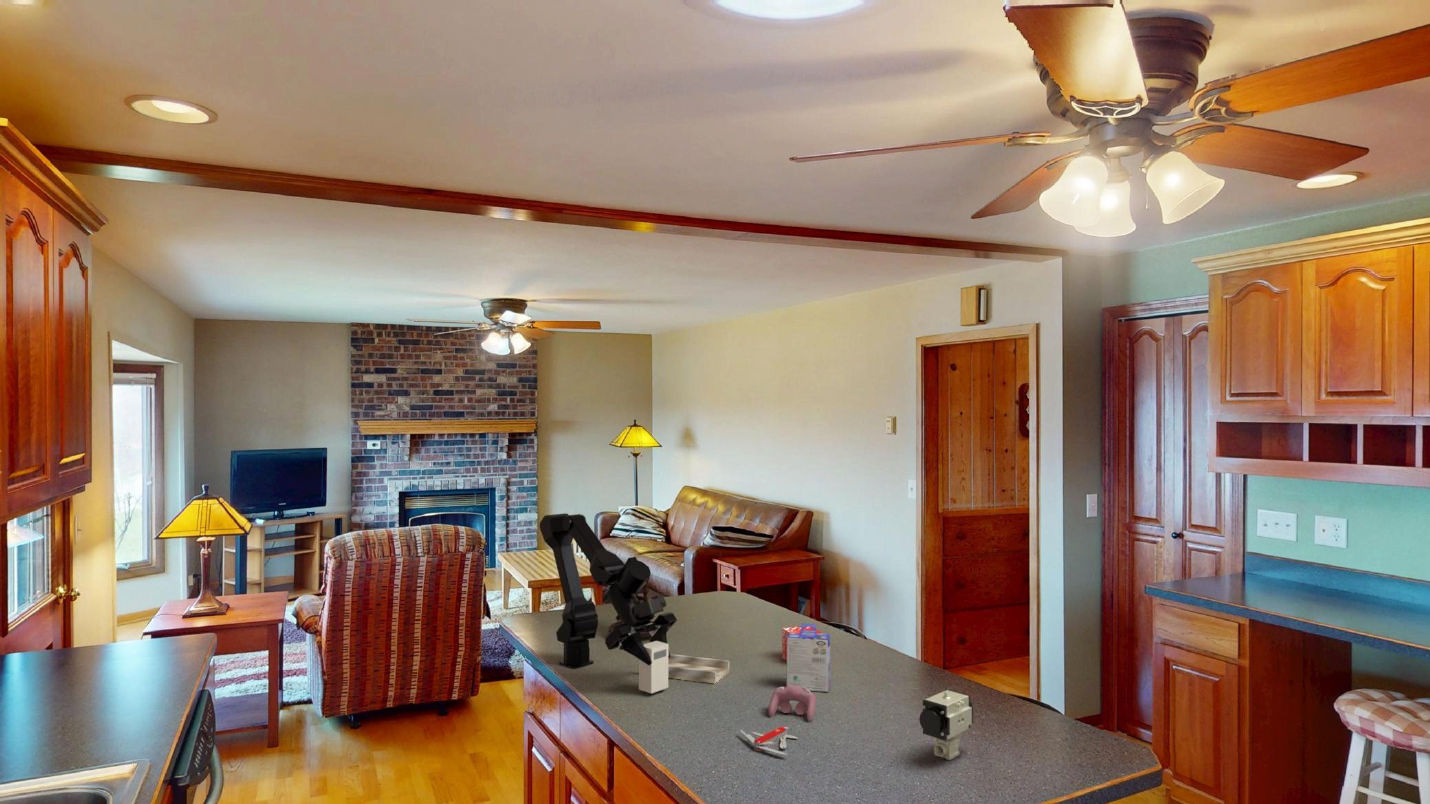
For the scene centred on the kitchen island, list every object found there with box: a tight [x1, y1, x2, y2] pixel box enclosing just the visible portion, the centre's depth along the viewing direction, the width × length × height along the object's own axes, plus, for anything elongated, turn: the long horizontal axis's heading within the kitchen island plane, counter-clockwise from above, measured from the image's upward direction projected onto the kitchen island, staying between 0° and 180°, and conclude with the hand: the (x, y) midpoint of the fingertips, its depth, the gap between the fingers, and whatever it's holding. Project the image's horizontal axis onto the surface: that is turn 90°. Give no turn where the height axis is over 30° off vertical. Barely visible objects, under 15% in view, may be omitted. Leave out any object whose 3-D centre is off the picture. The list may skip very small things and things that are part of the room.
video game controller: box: [768, 685, 817, 722], centre depth 178 cm, size 10×5×7 cm, turn 71°
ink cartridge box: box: [786, 622, 831, 693], centre depth 195 cm, size 10×6×14 cm, turn 78°
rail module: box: [638, 641, 670, 694], centre depth 192 cm, size 4×6×10 cm
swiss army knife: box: [739, 726, 799, 756], centre depth 163 cm, size 12×14×2 cm
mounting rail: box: [668, 653, 730, 685], centre depth 206 cm, size 20×10×3 cm, turn 69°
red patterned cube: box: [781, 626, 824, 662], centre depth 216 cm, size 8×8×8 cm
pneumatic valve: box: [919, 688, 974, 761], centre depth 157 cm, size 6×12×12 cm, turn 133°
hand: (659, 661), depth 191 cm, fingers closed on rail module, 5 cm apart
